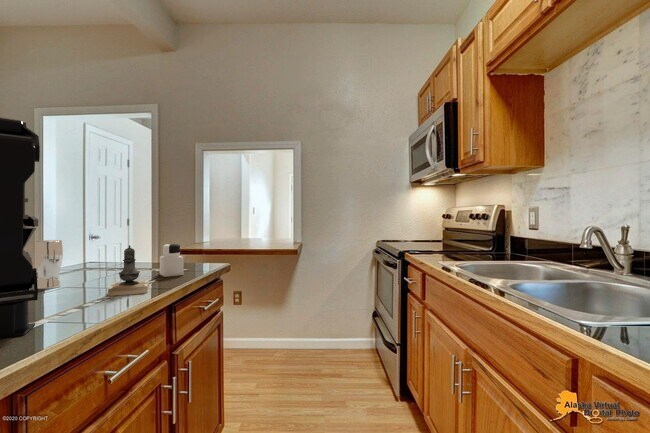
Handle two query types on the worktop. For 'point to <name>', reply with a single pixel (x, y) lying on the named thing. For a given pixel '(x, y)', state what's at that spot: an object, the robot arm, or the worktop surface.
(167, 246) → the medicine bottle
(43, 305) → the worktop surface
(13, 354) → the worktop surface
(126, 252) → the salt shaker
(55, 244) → the beer glass
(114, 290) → the oak base
